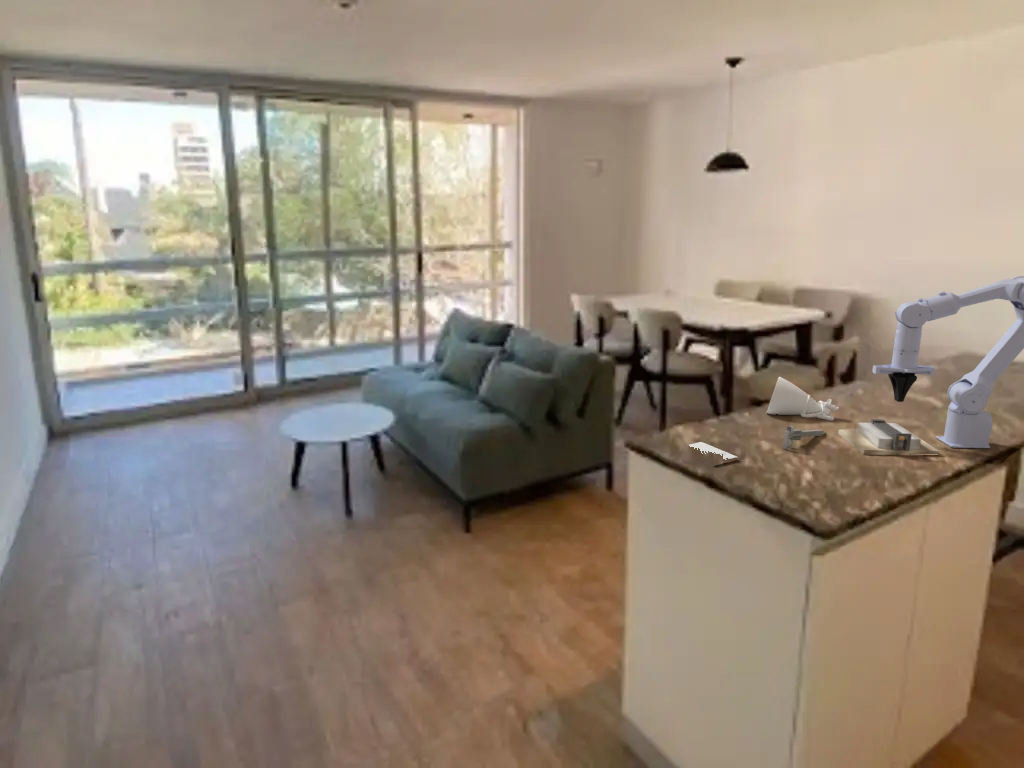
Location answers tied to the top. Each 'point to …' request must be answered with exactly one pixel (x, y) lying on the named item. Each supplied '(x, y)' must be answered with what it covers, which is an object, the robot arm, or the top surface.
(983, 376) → the robot arm
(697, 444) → the external hard drive
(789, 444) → the caliper
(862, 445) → the base board
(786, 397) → the rocket engine
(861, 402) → the top surface
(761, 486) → the top surface
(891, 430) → the grey flat bar
